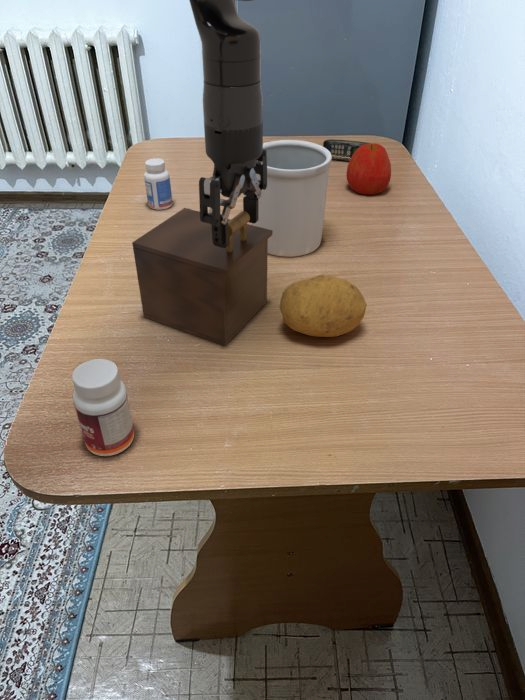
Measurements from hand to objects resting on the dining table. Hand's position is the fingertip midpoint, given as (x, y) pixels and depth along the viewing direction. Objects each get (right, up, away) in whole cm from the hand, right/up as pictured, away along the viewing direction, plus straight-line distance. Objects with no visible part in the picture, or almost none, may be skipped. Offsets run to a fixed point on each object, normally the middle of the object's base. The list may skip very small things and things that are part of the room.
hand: (236, 233), depth 82 cm
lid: (-5, 0, +4) cm, 6 cm away
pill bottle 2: (-19, +15, +44) cm, 50 cm away
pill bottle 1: (-15, -28, -10) cm, 34 cm away
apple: (+28, +21, +51) cm, 62 cm away
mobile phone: (+27, +32, +65) cm, 77 cm away
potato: (+13, -14, +8) cm, 21 cm away
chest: (-6, -10, +12) cm, 17 cm away
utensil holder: (+9, +5, +31) cm, 33 cm away
